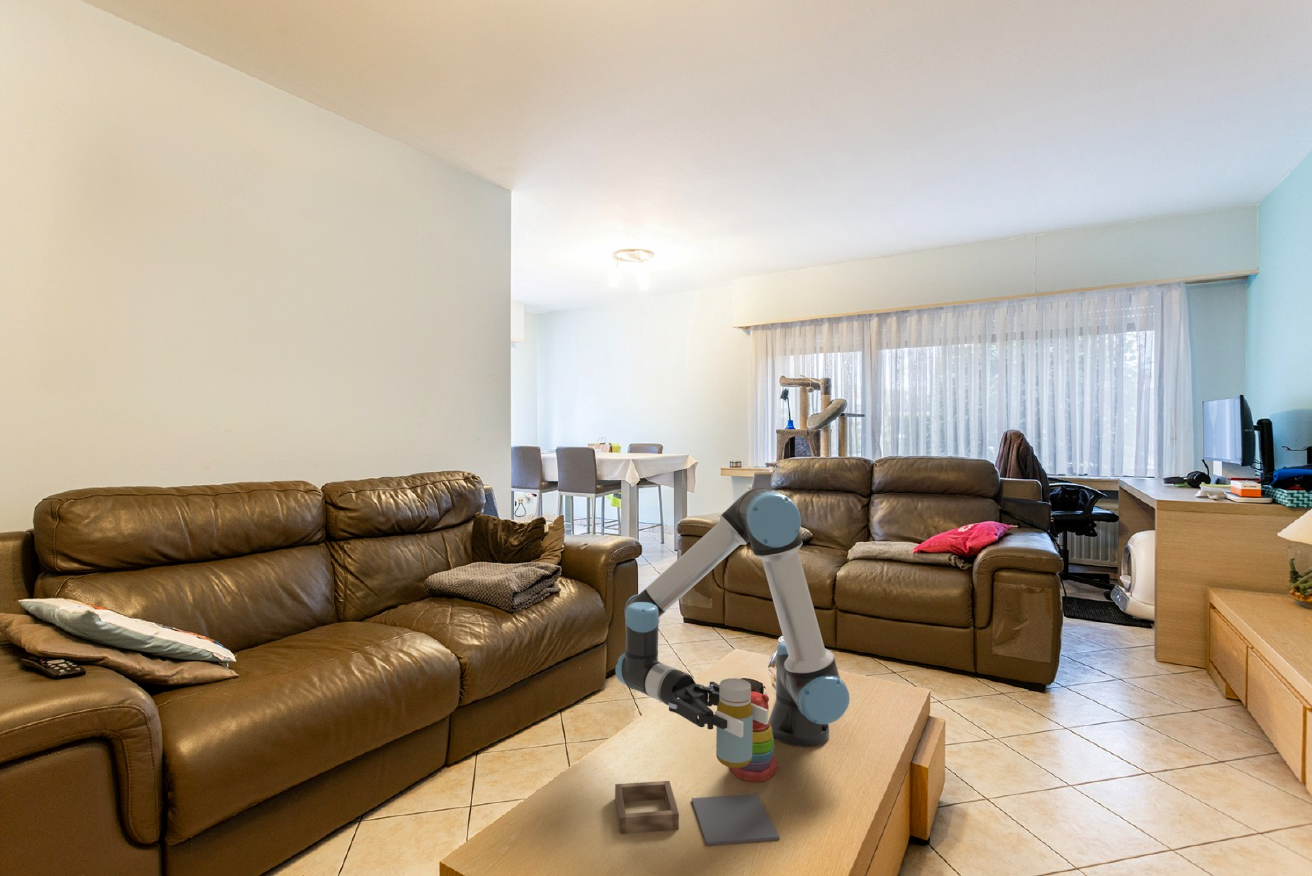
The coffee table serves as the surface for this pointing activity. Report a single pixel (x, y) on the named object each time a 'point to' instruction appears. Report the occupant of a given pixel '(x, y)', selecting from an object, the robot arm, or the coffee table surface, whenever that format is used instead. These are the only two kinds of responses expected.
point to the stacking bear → (759, 748)
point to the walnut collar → (646, 819)
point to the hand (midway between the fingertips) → (754, 723)
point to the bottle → (738, 706)
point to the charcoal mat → (734, 819)
